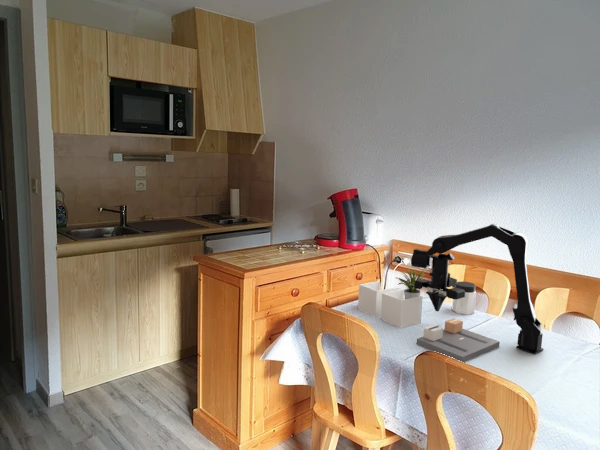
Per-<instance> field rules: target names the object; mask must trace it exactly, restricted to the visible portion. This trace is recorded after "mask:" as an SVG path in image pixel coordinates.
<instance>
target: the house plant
mask: <svg viewBox="0 0 600 450" xmlns="http://www.w3.org/2000/svg"><path fill="white" fill-rule="evenodd" d="M405 271H406V272H407V273H408V274H406V273H405V272H403V271H401V270H399V273H401V275H403V276H404V278H405V279H403V278H400V277H394V278H395V279H397V280H398V281H399V283H398V284H397V285H399V286H400V285H404V286H405V287H406V288H405V289H403V290H404V300H406V299H411V298H416V297H420V296H421V291H420V289H416V288H414V283H415V281H416V280H421V279H424V277H425V275H424V273H425V272H426V271H427V269H425V270H419V271H418V272H417V273H416V269H414V270H413V272H412V271H411V269H410V268H409V267H407V270H405Z"/></svg>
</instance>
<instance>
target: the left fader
mask: <svg viewBox="0 0 600 450" xmlns="http://www.w3.org/2000/svg"><path fill="white" fill-rule="evenodd" d="M443 328H444V327H441V326H439V325H435V324H432V325H428V326H426V327H424V328H423V336H424V338H426V339H429V340H431V341H435V340H438V339H441V338H442V332H443Z"/></svg>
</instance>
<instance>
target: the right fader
mask: <svg viewBox="0 0 600 450" xmlns="http://www.w3.org/2000/svg"><path fill="white" fill-rule="evenodd" d="M463 323H464V321H462V320H460V319H457V318H450V319H448V320H445V321H444V329H445V331H448V332H451V333H453V334H455V333H458V332H460V331H462V329H463V325H464V324H463Z"/></svg>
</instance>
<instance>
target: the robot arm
mask: <svg viewBox="0 0 600 450" xmlns="http://www.w3.org/2000/svg"><path fill="white" fill-rule="evenodd" d="M491 237H492V238H494V239H496V240H497V241H498V242H500V243H502V244H504V245H506V246H507V249H508V251H509V255H510V257H511V260H512V262H513V269H514V270H513V271H514V280H515V287H516V296H517V297H516V299H517V303H514V304H513V307H512V312H513V321H515V323H516V324H517V326H518V327H519V328H520V329H519V333H518V335H517V343H516V344H517V345H516V346H515V348H516V349H518V350H521V351H524V352H527V353H530V354H533V355H535V354H538V353H540V352H542V351H543V350H544V348H543V347H542V343H543V334H544V333H543V332H542V327H543V324H542V323H541V322H540V320H539V319H538V318H537V314H536V311H535V308H534V305H533V303H532V301H531V295H530V287H529V286H530V285H529V279H528V277H529V276H528V270H527V260H526V259H527V258H526V257H527V250H528V238H527V236H526V235H525V234H524V233H522V232H514V231H513V230H510V229H507V228H505V227H502V226H499V224H497V223H491V224H489V225H487V226H483V227H479V228H477V229H473V230H469V231H465V232H462V233H458V234H448V235H447V234H446V235H441V236H438V237H436V238H434V239H433V241H432V243H431V247H430V248H429V249H428V250H426V249H425V250H424V249H423V250H422V249H419V248H415V249H413V251H412V254H411V258H410V265H411V268H412V267H413V268H420V269H425V270H428V268H429V267H431V272H429V276H431V278H430V279H431V280H430V279H425V278H422V279H421V280H416V279H415V280H416V281H415V283H414V288H416V289H417V290H421V289H423V288H426V292H425V293H426V294H427V296H428V297H429V299H430V302H431V303H432V306H433V308H434V311H435V312H439V311H440V309H441V308H442V305H443V303H444V301H445V300H446V298H448V299H452V300H453V299H455V300H457V299H460V298H464V297H465V291H464V290H463V289H459V288H456V287H455V286H456V283H457V282H458V279H456V278H454V277H451V273H449V263H450V261H454V259H455V256H454V255H453V254H452V252H448V251H450V250H453V249H454V248H456V247H459V246H461V245H465V244H468V243H473V242H476V241H479V240H483V239H486V238H491ZM446 252H448V253H447V254H445V253H446ZM436 254H438V255H436ZM451 287H452V288H451Z"/></svg>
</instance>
